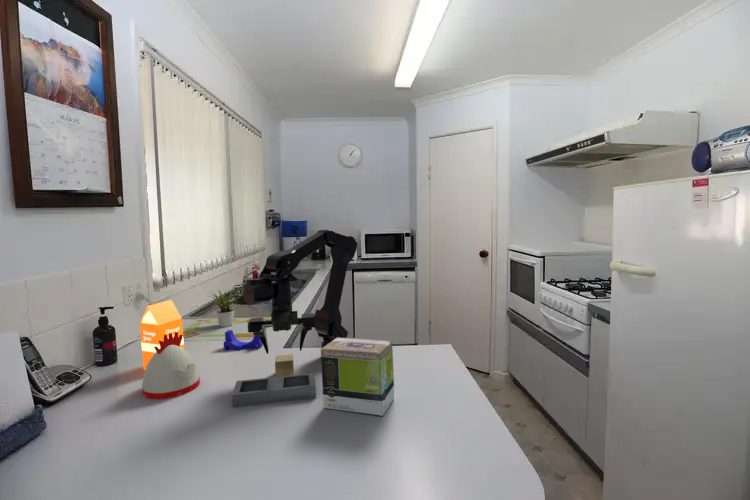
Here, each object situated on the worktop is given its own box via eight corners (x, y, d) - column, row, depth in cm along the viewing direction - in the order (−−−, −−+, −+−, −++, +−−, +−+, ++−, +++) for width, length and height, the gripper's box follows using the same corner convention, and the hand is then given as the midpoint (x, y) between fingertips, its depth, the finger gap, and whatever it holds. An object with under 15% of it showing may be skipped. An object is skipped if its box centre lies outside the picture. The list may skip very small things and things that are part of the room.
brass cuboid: (293, 370, 119) (293, 354, 119) (293, 377, 115) (293, 360, 114) (276, 372, 119) (275, 355, 118) (275, 379, 114) (274, 361, 113)
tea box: (395, 398, 100) (393, 339, 98) (382, 417, 90) (380, 353, 89) (339, 391, 105) (337, 335, 103) (321, 409, 95) (319, 347, 94)
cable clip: (224, 350, 139) (222, 333, 139) (229, 346, 144) (228, 330, 143) (258, 350, 139) (257, 333, 138) (262, 346, 143) (261, 329, 142)
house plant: (197, 330, 165) (194, 290, 164) (216, 321, 179) (213, 284, 177) (230, 330, 163) (227, 290, 161) (246, 321, 177) (244, 284, 175)
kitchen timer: (210, 381, 113) (207, 329, 112) (167, 403, 101) (162, 344, 99) (176, 374, 119) (172, 324, 118) (130, 394, 107) (126, 338, 105)
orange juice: (143, 369, 123) (137, 305, 122) (167, 359, 132) (163, 299, 130) (161, 372, 120) (156, 306, 119) (185, 362, 129) (181, 300, 127)
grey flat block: (314, 383, 110) (314, 372, 109) (316, 397, 101) (315, 385, 101) (237, 392, 106) (236, 380, 105) (232, 407, 97) (231, 395, 97)
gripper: (243, 307, 105) (247, 365, 106) (316, 302, 108) (318, 358, 110) (248, 298, 116) (251, 351, 117) (314, 294, 119) (316, 345, 121)
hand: (284, 351), depth 116 cm, fingers open, 9 cm apart
